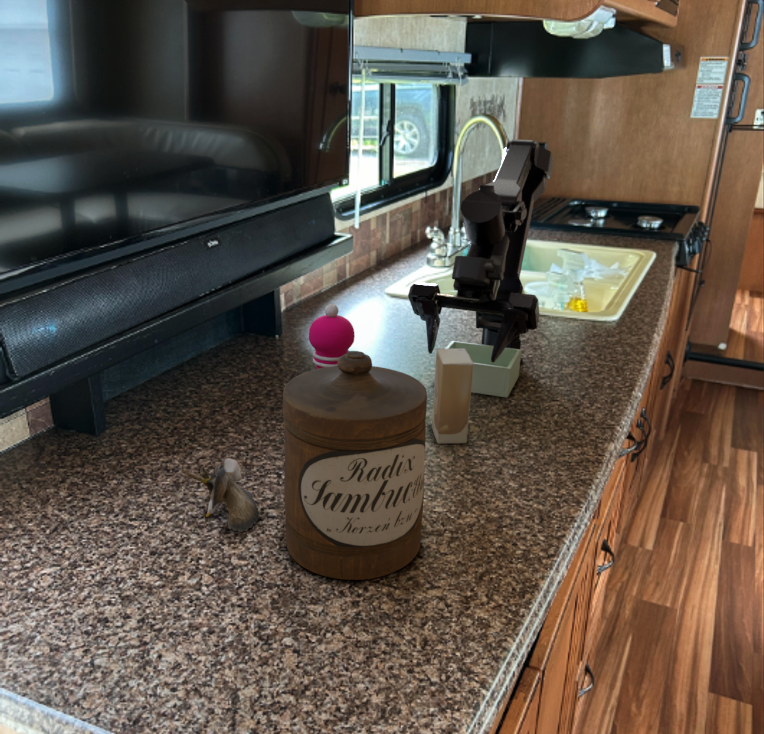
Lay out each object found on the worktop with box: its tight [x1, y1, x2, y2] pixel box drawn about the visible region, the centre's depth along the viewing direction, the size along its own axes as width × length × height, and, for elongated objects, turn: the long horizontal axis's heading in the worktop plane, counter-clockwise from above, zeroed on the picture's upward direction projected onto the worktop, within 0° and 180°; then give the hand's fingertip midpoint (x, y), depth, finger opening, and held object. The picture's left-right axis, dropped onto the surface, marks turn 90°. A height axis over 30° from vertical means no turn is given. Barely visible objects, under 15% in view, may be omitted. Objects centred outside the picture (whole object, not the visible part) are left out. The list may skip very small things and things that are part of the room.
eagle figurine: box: [182, 457, 260, 533], centre depth 89 cm, size 8×7×9 cm
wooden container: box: [282, 350, 428, 581], centre depth 80 cm, size 15×15×22 cm
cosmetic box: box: [431, 348, 473, 444], centre depth 108 cm, size 6×4×12 cm
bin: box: [444, 340, 522, 399], centre depth 129 cm, size 12×10×5 cm
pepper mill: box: [308, 303, 356, 369], centre depth 103 cm, size 7×7×20 cm
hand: (460, 356), depth 110 cm, fingers open, 9 cm apart
